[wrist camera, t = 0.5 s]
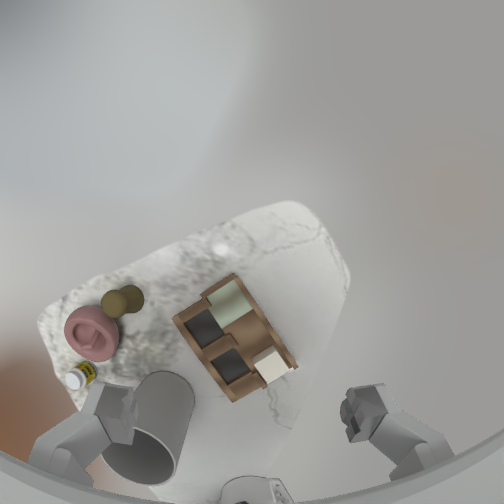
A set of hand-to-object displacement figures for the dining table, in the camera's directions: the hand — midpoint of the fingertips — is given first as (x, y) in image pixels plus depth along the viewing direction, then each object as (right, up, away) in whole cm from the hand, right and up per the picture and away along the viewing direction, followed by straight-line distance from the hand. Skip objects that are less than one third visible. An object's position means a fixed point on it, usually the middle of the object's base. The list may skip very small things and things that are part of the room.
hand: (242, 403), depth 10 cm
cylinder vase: (-18, -26, +48) cm, 57 cm away
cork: (-25, -4, +48) cm, 55 cm away
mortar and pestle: (-33, -12, +48) cm, 59 cm away
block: (+4, -17, +47) cm, 50 cm away
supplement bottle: (-38, -22, +47) cm, 64 cm away
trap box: (-3, -12, +49) cm, 51 cm away
